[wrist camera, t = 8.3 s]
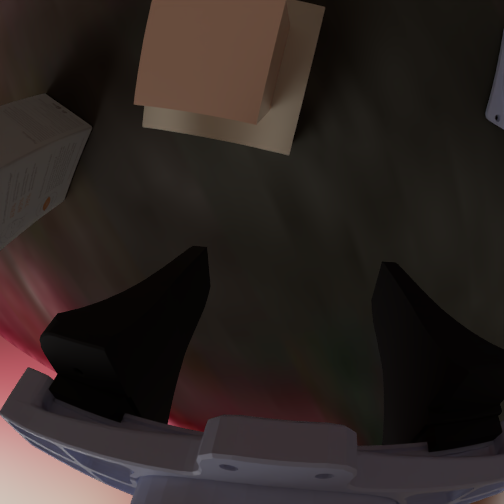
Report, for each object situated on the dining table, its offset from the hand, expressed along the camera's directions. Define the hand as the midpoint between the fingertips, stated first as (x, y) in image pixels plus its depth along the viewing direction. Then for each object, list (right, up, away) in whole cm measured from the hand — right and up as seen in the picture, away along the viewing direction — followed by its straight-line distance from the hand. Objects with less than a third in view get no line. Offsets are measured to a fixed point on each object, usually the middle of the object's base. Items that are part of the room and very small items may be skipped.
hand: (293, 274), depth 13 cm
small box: (-19, +10, +9) cm, 23 cm away
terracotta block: (-3, +11, +2) cm, 12 cm away
